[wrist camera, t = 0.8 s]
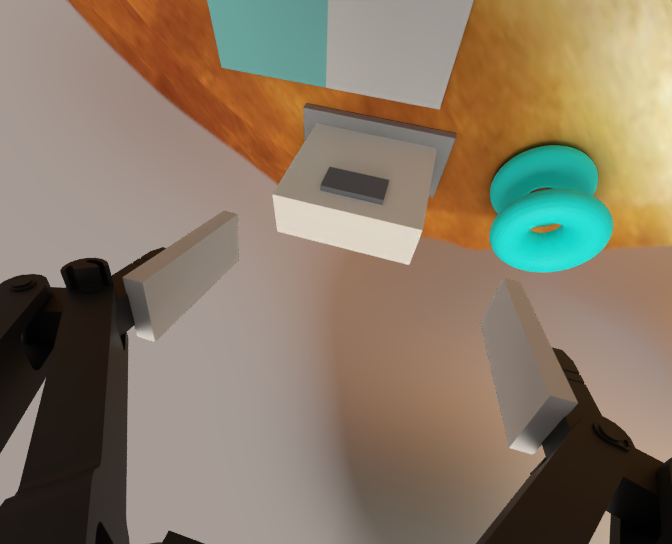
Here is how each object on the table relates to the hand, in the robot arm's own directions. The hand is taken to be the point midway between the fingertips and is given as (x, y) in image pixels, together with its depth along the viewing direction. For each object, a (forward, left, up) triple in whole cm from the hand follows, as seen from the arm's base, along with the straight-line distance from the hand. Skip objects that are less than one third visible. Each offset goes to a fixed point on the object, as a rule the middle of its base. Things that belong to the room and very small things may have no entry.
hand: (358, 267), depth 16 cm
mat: (-2, -9, -25) cm, 27 cm away
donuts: (+10, +16, -26) cm, 32 cm away
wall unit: (+10, -3, -25) cm, 27 cm away
